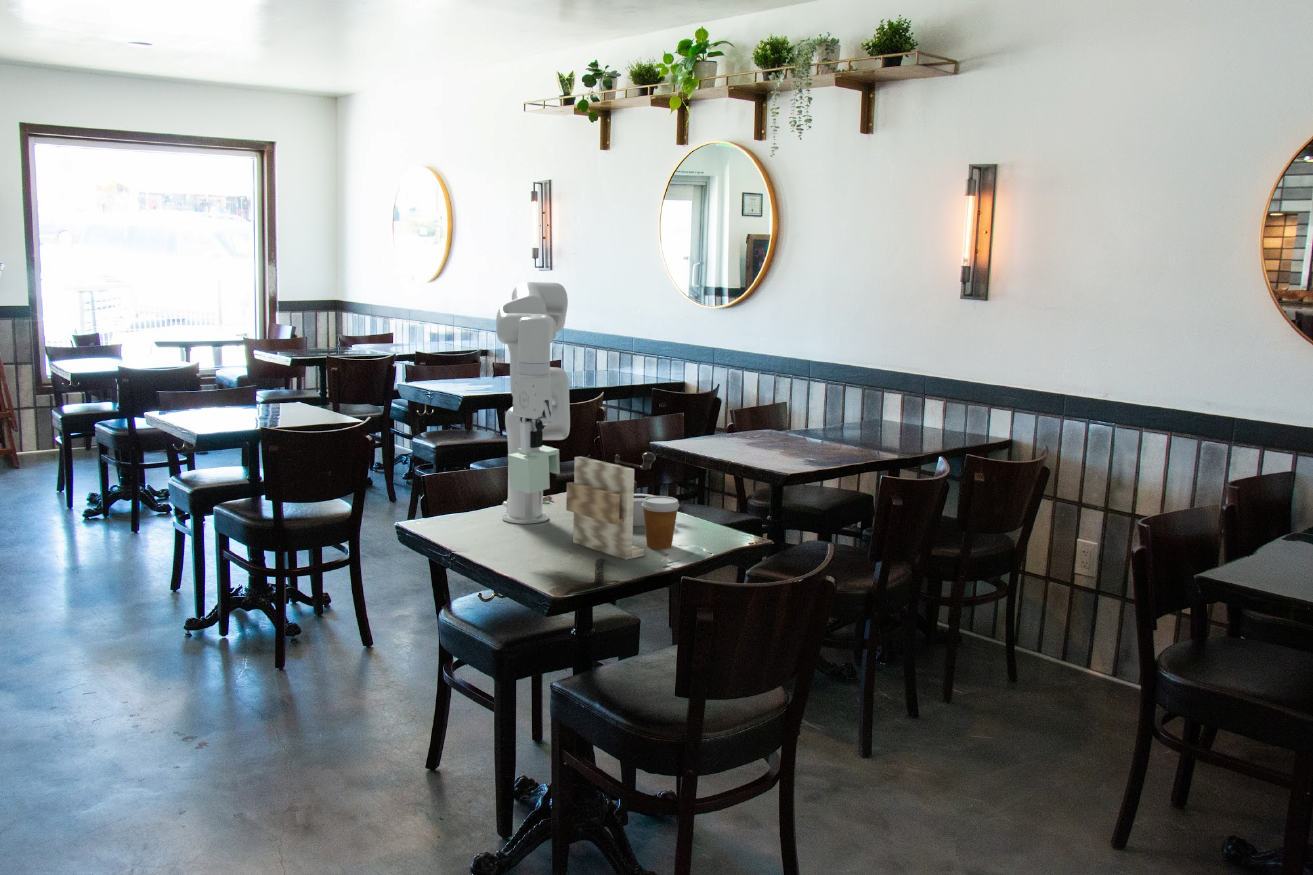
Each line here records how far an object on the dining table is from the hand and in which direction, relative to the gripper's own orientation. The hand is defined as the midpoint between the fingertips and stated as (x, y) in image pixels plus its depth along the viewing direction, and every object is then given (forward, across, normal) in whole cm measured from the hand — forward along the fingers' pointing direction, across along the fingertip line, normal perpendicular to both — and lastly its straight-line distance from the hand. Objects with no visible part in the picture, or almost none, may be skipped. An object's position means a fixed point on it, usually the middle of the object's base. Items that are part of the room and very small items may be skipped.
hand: (532, 445), depth 247 cm
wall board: (+27, +8, +16) cm, 32 cm away
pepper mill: (+28, -19, +48) cm, 59 cm away
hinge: (+28, -6, +40) cm, 49 cm away
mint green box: (+10, 0, +1) cm, 10 cm away
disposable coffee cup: (+27, +14, +30) cm, 43 cm away
